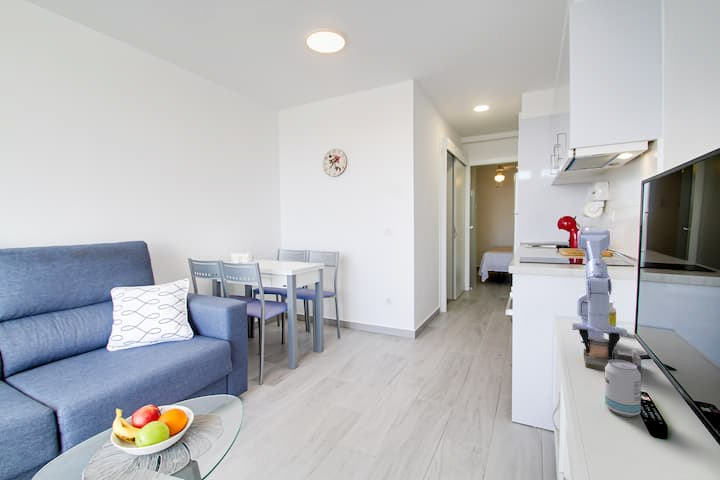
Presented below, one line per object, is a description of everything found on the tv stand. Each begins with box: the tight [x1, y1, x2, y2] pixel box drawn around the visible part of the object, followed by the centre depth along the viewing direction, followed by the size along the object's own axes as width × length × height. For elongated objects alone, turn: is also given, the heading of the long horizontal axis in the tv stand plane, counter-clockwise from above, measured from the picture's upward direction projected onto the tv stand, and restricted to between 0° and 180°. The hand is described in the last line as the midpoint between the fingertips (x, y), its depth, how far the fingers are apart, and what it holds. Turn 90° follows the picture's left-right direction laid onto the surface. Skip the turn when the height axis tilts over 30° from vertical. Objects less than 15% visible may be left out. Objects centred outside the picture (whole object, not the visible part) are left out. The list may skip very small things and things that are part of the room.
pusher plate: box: [612, 346, 619, 360], centre depth 105 cm, size 6×1×4 cm, turn 149°
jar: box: [588, 338, 609, 360], centre depth 108 cm, size 6×6×6 cm
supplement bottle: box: [609, 300, 617, 327], centre depth 139 cm, size 7×7×13 cm
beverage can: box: [604, 360, 642, 418], centre depth 81 cm, size 7×7×12 cm
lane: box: [583, 348, 643, 377], centre depth 106 cm, size 10×14×5 cm
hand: (598, 353), depth 108 cm, fingers closed on jar, 5 cm apart
